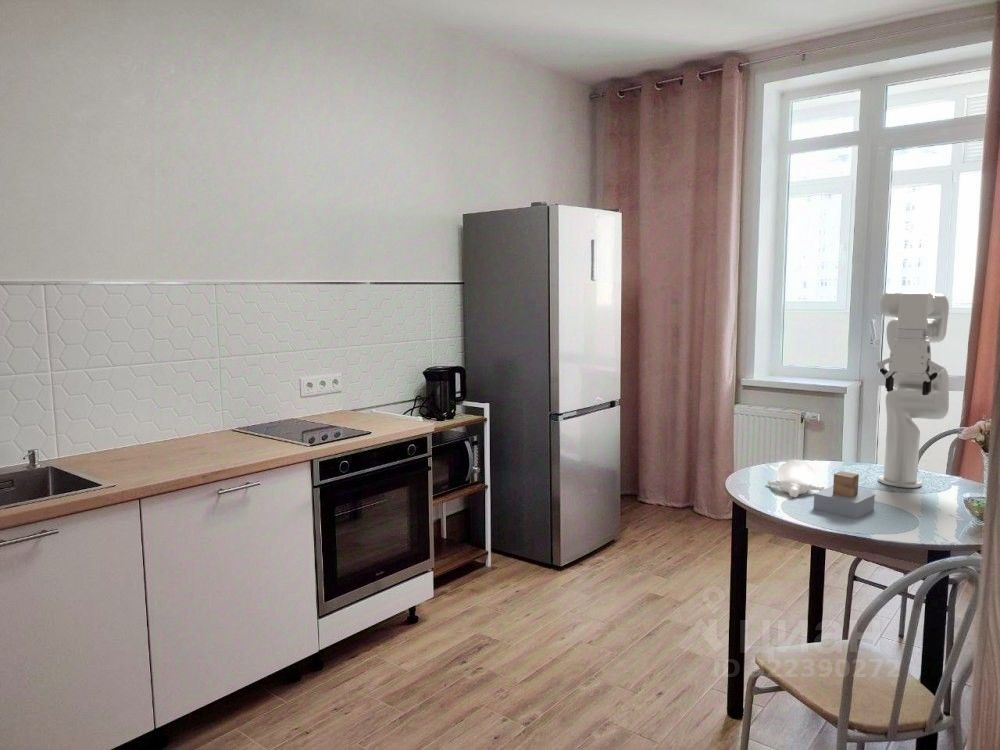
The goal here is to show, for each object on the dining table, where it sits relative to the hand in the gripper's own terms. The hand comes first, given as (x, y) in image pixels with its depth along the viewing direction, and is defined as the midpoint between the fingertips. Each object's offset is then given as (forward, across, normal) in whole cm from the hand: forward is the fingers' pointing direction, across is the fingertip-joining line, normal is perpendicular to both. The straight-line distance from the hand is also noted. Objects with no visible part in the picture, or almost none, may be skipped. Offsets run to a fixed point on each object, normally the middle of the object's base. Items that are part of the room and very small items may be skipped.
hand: (907, 392), depth 205 cm
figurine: (+34, +28, +9) cm, 45 cm away
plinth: (+34, +8, +19) cm, 40 cm away
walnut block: (+29, +8, +19) cm, 35 cm away
